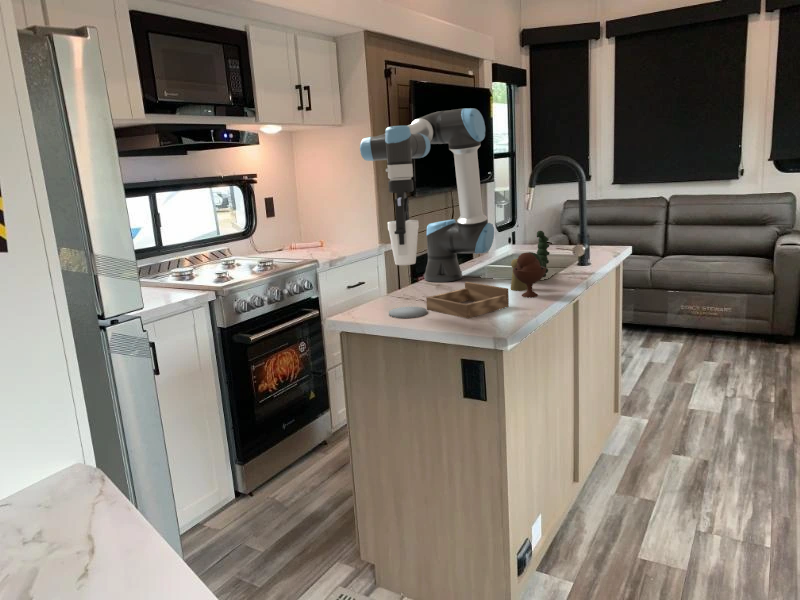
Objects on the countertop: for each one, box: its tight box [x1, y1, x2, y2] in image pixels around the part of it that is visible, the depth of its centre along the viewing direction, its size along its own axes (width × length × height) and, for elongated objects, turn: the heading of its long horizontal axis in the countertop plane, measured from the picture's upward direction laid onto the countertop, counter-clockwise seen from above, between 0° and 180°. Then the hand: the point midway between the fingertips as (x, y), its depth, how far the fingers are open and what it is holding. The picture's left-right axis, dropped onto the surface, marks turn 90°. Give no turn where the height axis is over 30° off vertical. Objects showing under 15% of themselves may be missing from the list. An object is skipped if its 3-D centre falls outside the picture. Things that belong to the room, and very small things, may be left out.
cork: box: [510, 258, 527, 292], centre depth 220 cm, size 6×6×11 cm
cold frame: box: [425, 281, 510, 319], centre depth 197 cm, size 18×18×6 cm
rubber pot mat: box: [388, 306, 428, 319], centre depth 196 cm, size 12×12×1 cm
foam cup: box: [387, 219, 420, 266], centre depth 191 cm, size 10×9×13 cm
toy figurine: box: [526, 230, 550, 278], centre depth 236 cm, size 9×19×25 cm
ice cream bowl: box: [512, 252, 547, 299], centre depth 208 cm, size 11×11×15 cm
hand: (404, 252), depth 192 cm, fingers closed on foam cup, 9 cm apart
